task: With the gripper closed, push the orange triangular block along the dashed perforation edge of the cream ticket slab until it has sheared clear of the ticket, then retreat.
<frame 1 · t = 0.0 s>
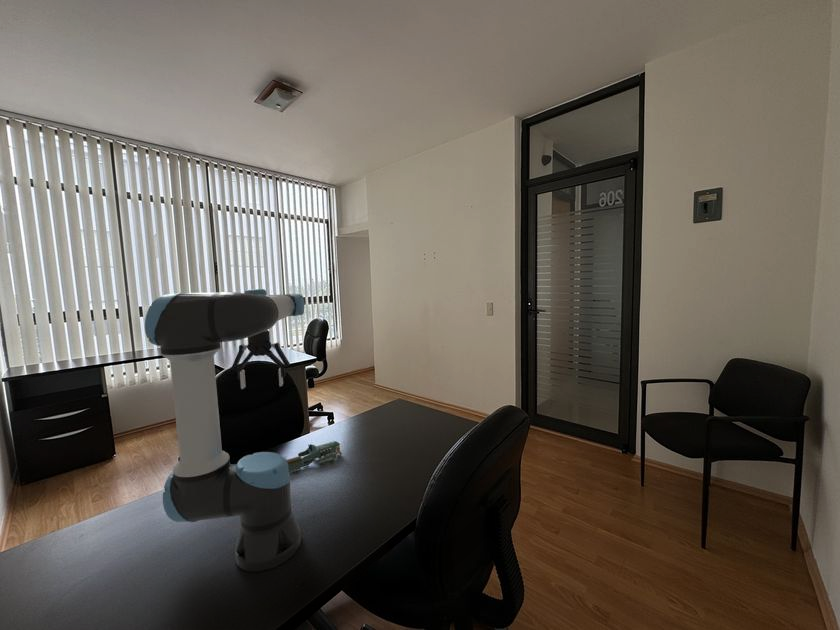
hand: (262, 386, 133), 28 cm above the table, fingers open, 13 cm apart
hoverbike: (309, 467, 128), on the table
orange triangular block: (191, 487, 114), point 2 cm above the table, slide at 0.0 cm
ticket: (217, 492, 113), on the table
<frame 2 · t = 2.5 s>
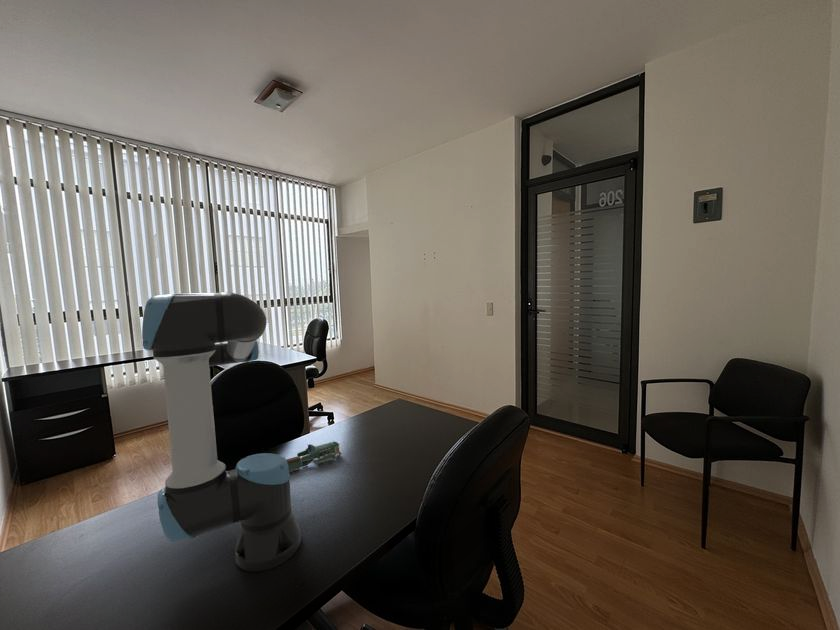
hand: (203, 444, 123), 11 cm above the table, fingers closed
nothing on the table moved.
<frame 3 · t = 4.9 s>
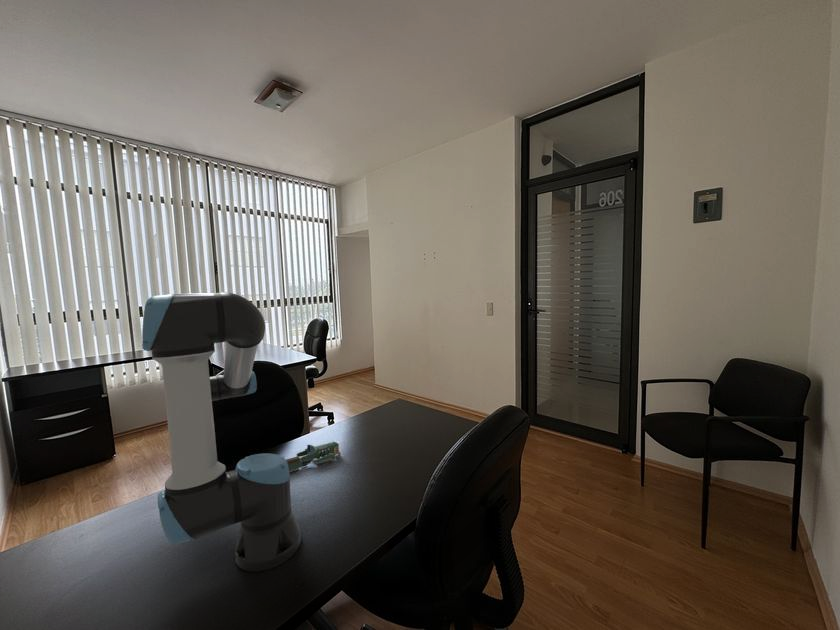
hand: (197, 482, 117), 1 cm above the table, fingers closed
orange triangular block: (189, 490, 112), point 2 cm above the table, slide at 1.3 cm, touching gripper
everything else where it was.
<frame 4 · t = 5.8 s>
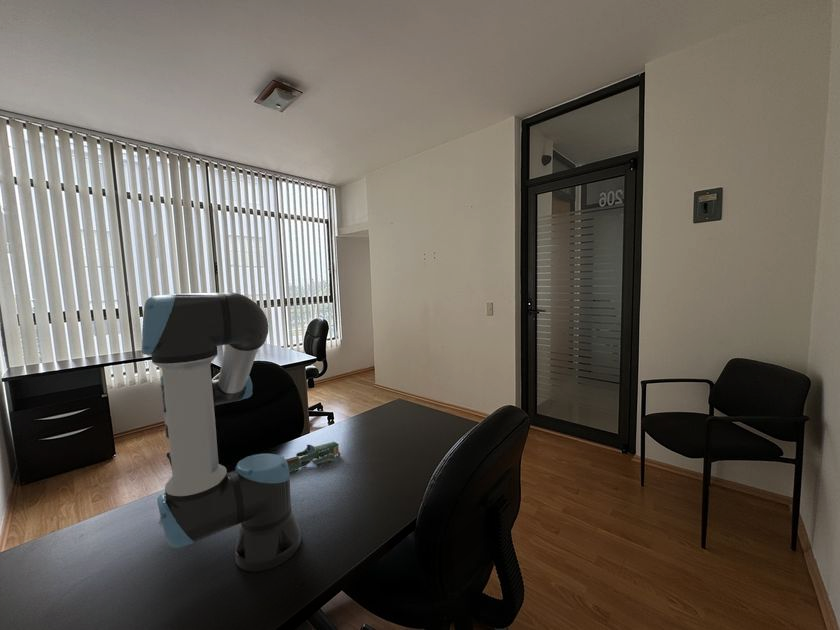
hand: (187, 494, 111), 1 cm above the table, fingers closed
orange triangular block: (178, 502, 106), point 2 cm above the table, slide at 7.9 cm, touching gripper
everything else where it was.
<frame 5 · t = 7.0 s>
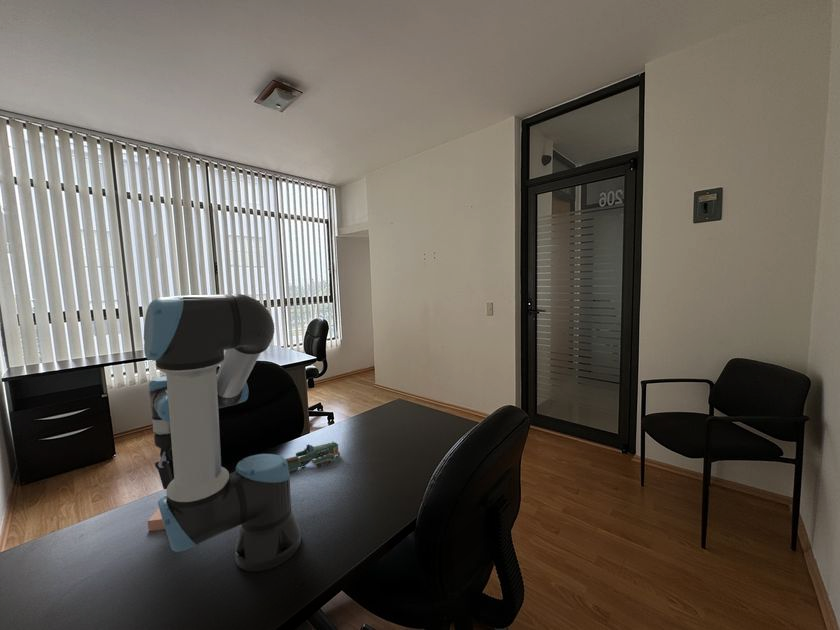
hand: (177, 505, 105), 1 cm above the table, fingers closed
orange triangular block: (168, 515, 100), point 2 cm above the table, slide at 13.5 cm, touching gripper
everything else where it was.
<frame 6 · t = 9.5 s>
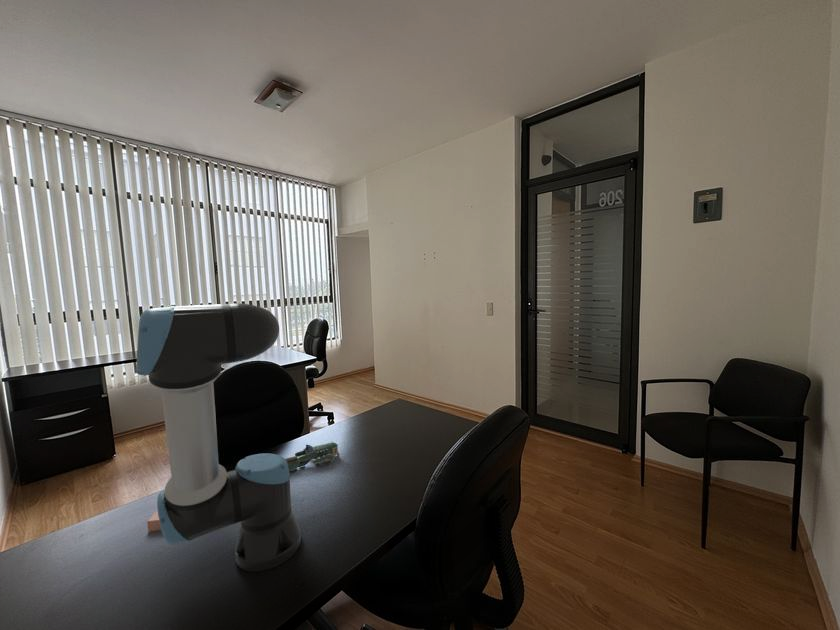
hand: (194, 434, 109), 21 cm above the table, fingers closed
orange triangular block: (167, 515, 100), point 2 cm above the table, slide at 13.7 cm
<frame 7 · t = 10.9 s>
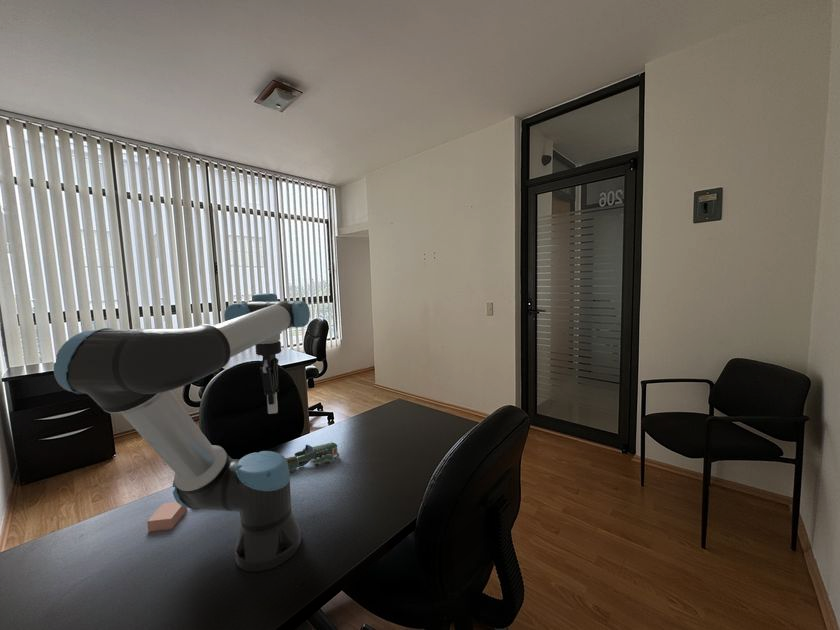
hand: (273, 412, 115), 24 cm above the table, fingers closed
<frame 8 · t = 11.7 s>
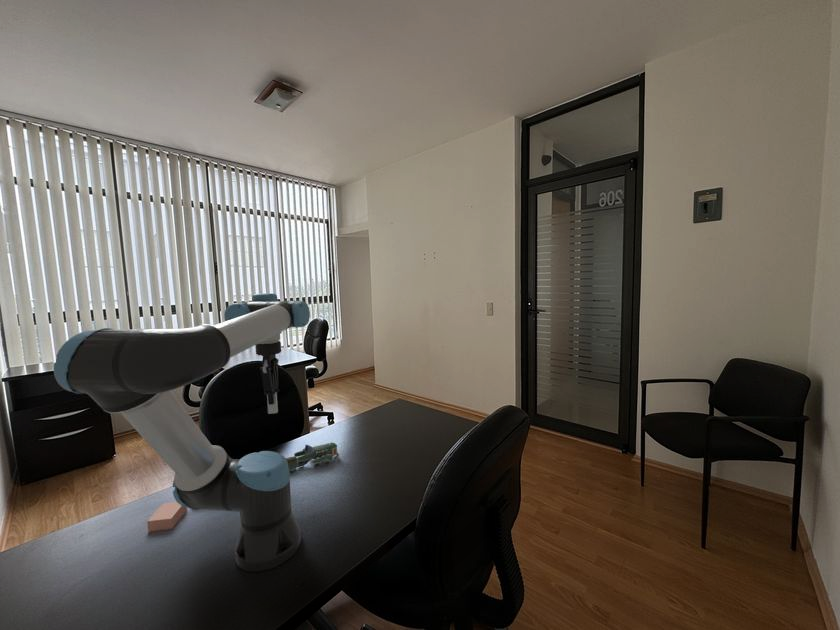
hand: (273, 412, 115), 24 cm above the table, fingers closed
at the end: orange triangular block slide at 13.7 cm; orange triangular block inside the target area (0.8 cm from its centre), on the table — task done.
